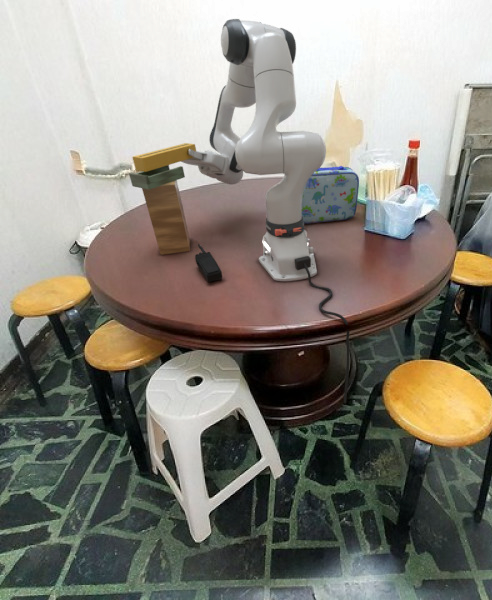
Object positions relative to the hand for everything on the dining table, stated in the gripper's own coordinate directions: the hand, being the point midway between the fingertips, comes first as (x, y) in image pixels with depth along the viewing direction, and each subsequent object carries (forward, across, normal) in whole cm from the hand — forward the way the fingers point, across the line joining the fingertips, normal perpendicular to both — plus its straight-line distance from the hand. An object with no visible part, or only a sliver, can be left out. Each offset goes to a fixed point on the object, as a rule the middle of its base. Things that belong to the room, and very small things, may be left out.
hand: (182, 150), depth 118 cm
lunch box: (-47, +36, +8) cm, 60 cm away
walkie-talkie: (+1, +21, +36) cm, 42 cm away
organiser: (-5, 0, +32) cm, 33 cm away
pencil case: (+5, 0, +6) cm, 7 cm away
